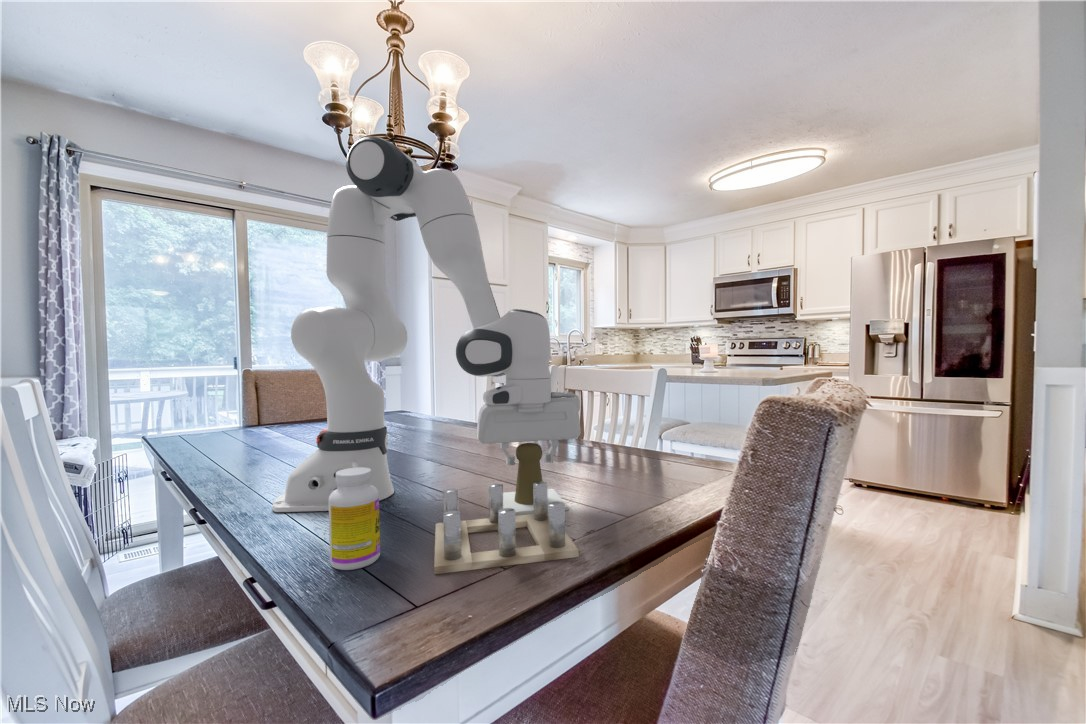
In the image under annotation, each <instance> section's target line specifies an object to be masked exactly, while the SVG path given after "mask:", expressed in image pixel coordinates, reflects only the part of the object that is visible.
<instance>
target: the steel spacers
mask: <svg viewBox="0 0 1086 724" xmlns="http://www.w3.org/2000/svg"><path fill="white" fill-rule="evenodd" d="M542 481H543V480H542ZM542 481H540V482H534V483H533V496H534V513H533V514H534V520H536V521H545V520H547V519H548V514H549V546H550V547H552V548H562V547H564V546H565V532H566V516H565V515H566V510H565V503H566V502H565V503H563V502H559V501H554V502H550V503H549V504H548V492H547V489H548V482H546V481H543V482H542ZM503 485H504V484H502V483H499V482H498V483H490V484H488V518H489V522H490V523H498V530H497V532H498V550H499V555H500V556H501V557H512V556H514V555H515V554H516V548H517V537H516V536H517V535H516V530H517V528H516V527H515V516H516V515H515V510H514V509H511V508H504V509H503V493H504V490H503V489H504V486H503ZM442 510H443V511H442V512H443V515H442V516H443V517H442V519H443V520H442V521H443V522H442V523H443V525H444V559H446V560H457V559H459V558H461V557H462V545H461V521H462V512H461V511H459V490H458V489H457V488H447V489H443V490H442Z"/></svg>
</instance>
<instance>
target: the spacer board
mask: <svg viewBox="0 0 1086 724" xmlns="http://www.w3.org/2000/svg"><path fill="white" fill-rule="evenodd" d="M515 527H516V529H518V528H519V529H520V528H521V529H522V528H527V529H528V531H529V534H530V535H531V538H532V539H533V541H534V543H535V545H529V546H521V547H516V554H515V555H514V556H512V557H501V556H500V555H499V549H494V550H485V551H476V552H472V551H471V546H470V545H471V544H470V540H469V539H470V537H469V534H472V533H480V532H481V533H482V532H490V531H491V532H493V531H498V523H490V522H489V517H488V518H476V519H470V520H469V519H467V520H461V545H462V557H461V558H459V559H457V560H446V559H444V525H443V522H437V523H435V527H434V529H435V531H434V532H435V533H434V558H433V559H434V560H433V561H434V565H433V567H434V570H433V571H434V572H433V573H434V575H439V574H440V575H441V574H448V573H457V572H465V571H473V570H482V569H489V568H491V569H492V568H497V567H508V566H515V565H523V564H532V563H539V562H548V561H557V560H565V559H572V558H573V559H574V558H579V556H580V555H579V554H580V551H579V548H578V547H577V545H576V543H574V541H573V540H572V538H571V537H570V536H569V535H568V533H567V532H566V531H565V546H564V547H562V548H552V547H550V546H549V514H548V519H547V520H545V521H536V520H534V513H533V514H523V515H515Z"/></svg>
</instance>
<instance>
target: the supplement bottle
mask: <svg viewBox="0 0 1086 724" xmlns="http://www.w3.org/2000/svg"><path fill="white" fill-rule="evenodd" d="M370 480H371V469H369V468H364V467H358V468H348V469H344V470H340V471H338V472H336V483H337V489H336V490H334V491H333V492H332V493H331V494H330V496H329V500H328V501H329V511H328V530H329V531H328V532H329V534H328V535H329V537H328V538H329V563H330V565H331V566H332V567H333V568H334V569H337V570H340V571H353V570H358V569H363V568H365V567H368V566H370V565H372V564H374V563H375V562H376V561H377V560H378V559H379V558H380V555H381V532H380V531H381V529H380V528H381V527H380V525H381V524H380V520H381V519H380V501H379V492H378V490H377V489H376V488H375V487H374V486H372V485H370Z"/></svg>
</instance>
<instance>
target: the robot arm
mask: <svg viewBox="0 0 1086 724" xmlns="http://www.w3.org/2000/svg"><path fill="white" fill-rule="evenodd" d="M345 167H346V172H347V176H348V177H349V179H350V180H351V182H352V183H353V185H346V186H342V187H340V188H338V189H337V190H336V191H335V192H334V194H333V195H332V198H331V199H332V200H331V203H330V208H329V212H328V220H327V229H326V230H327V232H326V233H327V234H326V271H325V273H326V277H327V279H328V281H329V282H330V283H331V284H332V286H334V287H335V288H336V289H337V290H338V291H339V292H340V294H341V296H342V298H343V300H344V304H345V307H337V306H322V307H320V306H319V307H312V308H307V309H304V310H302V311H301V312H300V313H299V314H298V315H297V316H296V317H295V318H294V321H293V323H292V326H291V329H290V330H291V331H290V337H291V338H290V339H291V341H292V345H293V347H294V349H295V350H296V352H297V354H299V355H300V357H302V358H304V359H305V360H306V361H308V364H310V365H311V366H312V367H313V369H314V370H315V372H316V373H317V376H318V377H319V379H320V382H321V384H322V386H323V391H324V394H325V395H324V396H325V404H326V405H325V406H326V418H327V419H326V422H327V428H323V430H321V431H320V432H319V434H318V435H317V436H316V438H315V440H316V441H315V443H316V444H317V445H316V447H317V450H315V451H314V452H313V453H312V454H310V455H309V456H308V457H307V458H306V459H304V460H303V461H302V462H301V463H300V464H298V465H297V466H296V467H294V469H293V470H292V471H291V472H290V474H289V476H288V478H287V481H286V487H285V491H284V492H283V493H281V494H280V495H279V496H277V497H276V498H275V499H274V500H273V503H272V512H275V513H291V512H292V513H296V512H297V513H298V512H327V511H328V512H329V501H328V500H329V496H330V494H331V493H332V492H333V491H334V490H336V489H337V483H336V472H338V471H340V470H344V469H348V468H358V467H364V468H369V469H371V480H370V485H372V486H374V487H375V488H376V489H377V490H378V492H379V502H380V501H382V500H384V499H387V498H389V497H390V496H392V495H393V494H394V493H395V489H394V486H393V483H392V482H393V481H392V480H391V474H390V471H389V464H388V463H389V462H388V458H387V453H388V450H389V446H388V445H389V443H388V442H389V438H388V437H389V436H388V435H389V434H388V427H387V426H386V425H385V424H386V423H385V419H386V418H385V394H384V390H383V387H381V386H380V385H379V384H378V383H376V382H375V381H373V380H372V378H371V376H370V375H369V373H368V370H367V367H366V364H365V362H366V363H367V362H382V361H386V360H389V359H393V358H396V357H398V356H400V355H401V354H402V352H404V350H405V348H406V346H407V343H408V330H407V327H406V325H405V324H404V322H403V321H402V320H401V319H400V318H399V317H398V315H397V314H396V312H395V310H394V308H393V306H392V304H391V301H390V300H391V299H390V296H389V294H388V290H387V285H386V277H385V273H386V270H385V268H386V267H385V261H386V257H385V255H386V254H385V252H386V250H385V249H386V247H385V246H386V241H385V240H386V238H385V237H386V226H387V222H388V221H389V219H392V220H394V221H395V222H396V221H397V222H398V221H399V222H400V221H402V220H405V219H409V218H415V217H416V219H417V222H418V223H417V224H418V227H419V229H420V234H421V237H422V240H423V244H424V246H425V249H426V252H427V253H428V255H429V258H430V259H431V261H432V263H433V264H434V266H435V267H436V268H437V269H438V270H439V271H441V273H442V274H444V275H445V276H446V277H447V279H449V280H450V281H451V282H452V283H453V284H454V286H455V287H456V288H457V290H458V291H459V293H460V295H461V297H462V299H463V302H464V304H465V308H466V310H467V313H468V317H469V319H470V322H471V326H472V329H470V330H469V329H468V331H465V332H464V333H463V334H462V335H461V336H460V337H459V339H458V341H457V343H456V348H455V356H456V361H457V363H458V365H459V367H460V368H461V369H462V370H463V371H465V373H467V374H469V375H472V376H474V377H481V378H483V377H496V378H497V377H503V376H505V384H503V385H500V386H498V387H495V388H492V389H490V390H486V391H484V393H483V395H482V399H483V403H484V404H483V405H482V406H481V407H480V409H479V411H478V416H477V417H478V418H477V424H476V425H477V426H476V437H477V440H478V442H479V443H480V444H482V445H486V444H487V445H488V444H489V445H490V444H499V446H500V449H501V451H502V452H503V454H504V455H505V463H506V466H507V467H510V466H512V467H513V466H515V465H516V462H515V460H516V455H514V454H510V453H509V452H508V450H507V449H509V448H510V444H509V443H524V442H525V443H528V442H541V441H549V444H550V448H548V451H547V452H544V453H543V456H544V457H543V461H544V463H545V464H552V463H553V464H554V454H555V452H556V451H557V449H558V448H559V445H560V444H559V440H574V439H578V438H579V436H580V435H581V433H582V432H581V420H580V419H581V418H580V415H579V411H580V410H581V400H580V398H579V396H578V395H577V394H575V393H574V392H573V391H564V392H563V391H562V392H561V391H552V375H551V371H550V359H551V355H552V354H551V352H552V350H551V335H550V334H551V333H550V327H549V323H548V321H547V318H545V316H543V315H542V314H541V313H539V312H536V311H532V310H527V309H525V310H524V309H515V308H514V309H509V310H508V311H507V313H505V314H503V316H501V314H500V313H499V309H498V307H497V303H496V300H495V297H494V294H493V292H492V288H491V284H490V281H489V278H488V273H487V268H486V264H485V258H484V253H483V246H482V242H481V237H480V233H479V228H478V223H477V221H476V220H477V219H476V216H475V214H474V210H473V208H472V206H471V205H472V204H471V203H470V200H469V198H468V195H467V193H466V191H465V188H464V186H463V184H462V182H461V181H460V178H459V177H458V176H457V175H456V174H455V173H454V172H452V171H451V170H449V169H445V168H432V169H428V170H426V171H425V170H424V169H423V168H422V166H420V165H419V163H417V161H415V159H414V158H412V157H411V156H410V155H408V154H406V153H405V152H403V150H400V148H399V147H397V146H396V145H395V144H394V143H392V142H390V141H388V140H387V139H385V138H381V137H378V136H375V135H374V136H373V135H372V136H371V135H370V136H369V135H368V136H364V137H361V138H359V139H358V140H356V141H355V142H354V143H353V144H352V145H351V147H350V149H349V150H348V153H347V155H346V160H345Z"/></svg>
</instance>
